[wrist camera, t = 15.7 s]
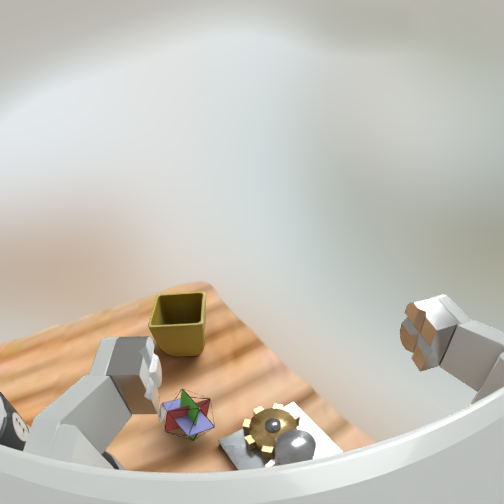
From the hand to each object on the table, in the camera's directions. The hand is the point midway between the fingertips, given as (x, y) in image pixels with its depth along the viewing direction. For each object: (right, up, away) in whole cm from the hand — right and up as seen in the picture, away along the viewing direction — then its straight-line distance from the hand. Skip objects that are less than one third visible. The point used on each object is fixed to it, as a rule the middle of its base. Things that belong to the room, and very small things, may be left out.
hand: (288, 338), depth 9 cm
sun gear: (+2, -22, +27) cm, 35 cm away
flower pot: (-13, -15, +44) cm, 48 cm away
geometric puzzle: (-9, -22, +29) cm, 38 cm away
